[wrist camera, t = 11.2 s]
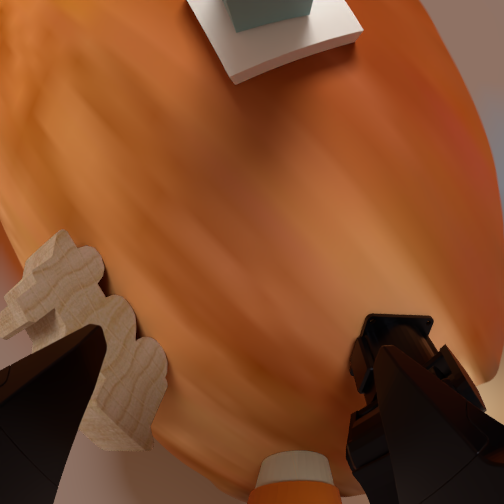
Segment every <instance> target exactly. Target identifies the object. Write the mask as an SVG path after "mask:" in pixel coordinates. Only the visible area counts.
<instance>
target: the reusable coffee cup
mask: <svg viewBox="0 0 504 504" xmlns="http://www.w3.org/2000/svg"><path fill="white" fill-rule="evenodd" d="M247 504H342V502H341V497H340V493H339V490H338V488H337V487H336V486H334V483H333V478H332V474H331V470H330V466H329V462H328V459H327V458H326V457H325V456H323V455H322V454H319V453H316V452H312V451H298V450H297V451H286V452H281V453H276V454H274V455H271V456H269V457H267V458H266V459H264V460H263V462H262V464H261V468H260V472H259V476H258V479H257V483H256V487H255V489H254V490H252V491H251V493H250V496H249V499H248V502H247Z"/></svg>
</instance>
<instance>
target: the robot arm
mask: <svg viewBox="0 0 504 504" xmlns="http://www.w3.org/2000/svg"><path fill="white" fill-rule="evenodd" d="M371 319H374V320H373V321H370V320H371ZM427 321H429V322H428V323H427ZM433 322H434V321H433V319H432V317H431V316H422V315H393V314H369V315H368V316H367V317H366V319H365V323H364V326H363V329H362V333H361V336H359V337H358V338H357V340H356V344H355V347H354V350H353V353H352V356H351V359H350V362H351V366H350V369H349V371H350V374H351V375H352V376H354V378H355V382H356V386H357V390H358V392H359V393H360V394H364V396H365V399H366V403H367V406H366V407H364V408H362V409H361V410H359V411H356V412H354V413H352V414H351V419H350V426H349V433H348V440H347V446H346V460H347V461H348V464H349V466H350V469H351V470H352V474H353V476H354V477H355V478H356V479H357V481H358V482H359V483H360V484H361V486H362V488H363V489H364V491H365V493H366V495H367V497H368V499H369V502H370V504H504V425H503V424H501V423H499V422H498V421H496V420H495V419H493V418H492V417H490V416H489V415H487V414H485V413H484V412H485V411H486V407H485V405H484V403H483V400H482V398H481V396H480V394H479V391H478V389H477V388H476V386H475V385H474V383H473V381H472V380H471V378H470V377H469V375H468V374H467V372H466V371H465V369H464V368H463V367H462V365H461V364H460V363H459V361H458V360H457V359H456V357H455V356H454V355H453V353H452V352H451V351H450V349H449V348H448V347H447V346H446V344H445V345H444V346H443V347H442V348H440V351H439V352H438V351H437V349H436V348H435V346H434V344H433V343H432V341H431V340H430V338H429V336H428V335H429V332H430V330H431V327H432V325H433ZM106 352H107V343H106V339H105V336H104V332H103V329H102V327H101V326H100V325H96V324H88V325H86V326H84V327H82V328H80V329H78V330H76V331H74V332H72V333H71V334H69V335H67V336H65V337H63V338H61V339H59V340H57V341H55V342H53V343H51V344H49V345H48V346H46V347H44V348H42V349H40V350H38V351H36V352H34V353H32V354H30V355H28V356H27V357H25V358H23V359H21V360H19V361H18V362H15V363H14V364H12V365H11V366H10V365H9V366H8V367H6V368H4V369H2V370H0V504H53V503H54V499H55V496H56V493H57V489H58V486H59V482H60V479H61V476H62V473H63V470H64V467H65V464H66V461H67V458H68V455H69V453H70V450H71V447H72V444H73V442H74V439H75V436H76V433H77V431H78V428H79V426H80V423H81V421H82V418H83V416H84V413H85V411H86V408H87V406H88V403H89V401H90V399H91V396H92V394H93V391H94V389H95V386H96V383H97V380H98V377H99V374H100V370H101V367H102V364H103V361H104V358H105V355H106Z"/></svg>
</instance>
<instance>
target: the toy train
mask: <svg viewBox="0 0 504 504" xmlns="http://www.w3.org/2000/svg"><path fill="white" fill-rule="evenodd" d="M103 273H104V264H103V261H102V257H101V255H100V254H99V253H98V252H97V250H96V249H95V248H93V247H90V246H87V245H86V246H83V247H80V248H77V247H76V245H75V244H74V242H73V240H72V239H71V237H70V235H69V234H68V232H67V231H66V230H64V229H62V230H59V231H58V232H57V233H56V234H55V235H54V236H53V237H51V238H50V239H49V240H48V241H47V242H46V243H45V244H43V245H42V246H41V247H40V248H39V249H38V250H37V251H36V252H35V253H34V254H32V255H31V256H30V257H29V258H28V259H27V261H26V263H25V267H24V272H23V278H22V280H21V281H20V282H19V283H17V285H15V286H14V287H13V288H12V289H11V290H10V291H9V292H8V293H7V294H6V295H5V296H4V298H5V300H6V303H7V305H8V306H7V307H6V308H5V309H4V310H3V311H1V312H0V337H1V338H2V339H6V340H7V339H9V338H11V337H12V336H14V335H15V334H17V333H19V332H20V331H22V330H24V329H25V330H26V331H27V333H28V335H29V337H30V338H31V340H32V342H33V346H32V353H34V352H36V351H38V350H40V349H42V348H44V347H46V346H48V345H49V344H51V343H53V342H55V341H57V340H59V339H61V338H63V337H65V336H67V335H69V334H71V333H72V332H74V331H76V330H78V329H80V328H82V327H84V326H86V325H88V324H96V325H100V326H101V327H102V329H103V332H104V336H105V339H106V343H107V352H106V355H105V358H104V361H103V364H102V367H101V370H100V374H99V377H98V380H97V383H96V386H95V389H94V391H93V394H92V396H91V399H90V401H89V403H88V406H87V408H86V411H85V413H84V416H83V418H82V421H81V423H80V426H79V428H78V429H79V430H81V432H83V433H84V434H85V435H86V436H87V437H88V438H89V439H90V440H91V441H92V442H93V443H95V444H96V445H97V446H98V447H99V448H100V449H102V450H114V451H115V450H116V451H150V450H152V448H153V447H154V441H153V436H152V432H151V427H150V426H151V424H152V421H153V419H154V417H155V414H156V412H157V410H158V407H159V405H160V403H161V401H162V398H163V396H164V394H165V391H166V389H167V387H168V385H167V380H166V379H165V376H166V374H167V364H168V362H167V359H166V355H165V353H164V351H163V349H162V347H161V346H160V345H159V343H158V342H157V341H156V340H154V339H153V338H151V337H142V338H139V339H136V318H135V314H134V312H133V309H132V307H131V306H130V305H129V303H128V302H127V301H126V300H125V299H124V298H123V297H122V296H119V295H115V294H114V295H111V296H108V297H105V295H104V294H103V292H102V290H101V289H100V287H99V285H98V282H99V281H100V279H101V278H102V277H103ZM135 339H136V340H135Z"/></svg>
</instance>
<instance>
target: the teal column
mask: <svg viewBox="0 0 504 504" xmlns="http://www.w3.org/2000/svg"><path fill="white" fill-rule="evenodd" d="M222 1H223V3H224V5H225V8H226V10H227V12H228V14H229V17H230V19H231V21H232V24H233V26H234V28H235V31H236V33H238V32H241V31H244V30H248V29H251V28H255V27H258V26H262V25H266V24H269V23H273V22H278V21H282V20H286V19H291V18H295V17H300V16H306V15H310V11H311V7H312V3H313V0H222Z"/></svg>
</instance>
